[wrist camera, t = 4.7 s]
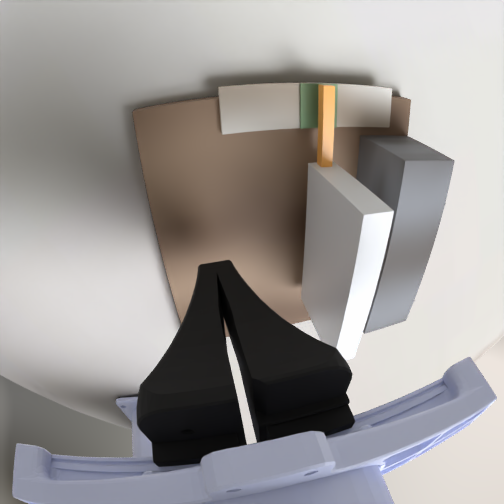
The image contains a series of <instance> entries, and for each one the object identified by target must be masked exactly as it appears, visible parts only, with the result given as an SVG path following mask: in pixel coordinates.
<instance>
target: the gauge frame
mask: <svg viewBox="0 0 504 504" xmlns="http://www.w3.org/2000/svg"><path fill="white" fill-rule="evenodd" d="M318 84H320V85H333V86H335V116H334V142H333V162H335V163H336V164H337V165H339V166H340V167H341V168H343V169H344V170H345V171H346V172H348V173H349V174H350V175H351V176H353V177H354V178H355V179H356V180H358V181H359V182H360V183H361V184H363V185H364V186H365V187H366V188H368V189H369V190H370V191H371V192H372V193H374V194H375V195H376V196H377V197H378V198H380V199H381V200H382V201H383V202H384V203H385V204H387V205H388V206H389V207H390V208H391V209H392V210H393V211H394V214H393V219H392V224H391V229H390V233H389V238H388V242H387V247H386V251H385V255H384V259H383V263H382V267H381V271H380V275H379V279H378V283H377V286H376V290H375V293H374V297H373V300H372V304H371V307H370V311H369V314H368V317H367V321H366V324H365V327H364V330H363V332H364V334H365V333H368V332H372V331H375V330H378V329H381V328H385V327H388V326H391V325H394V324H397V323H400V322H403V321H406V319H407V316H408V314H409V312H410V309H411V307H412V304H413V302H414V299H415V296H416V294H417V291H418V288H419V286H420V283H421V280H422V278H423V275H424V272H425V269H426V266H427V263H428V260H429V257H430V254H431V251H432V248H433V244H434V241H435V238H436V234H437V231H438V228H439V224H440V220H441V217H442V213H443V209H444V205H445V201H446V197H447V193H448V189H449V184H450V180H451V175H452V170H453V165H454V160H452V159H450V158H449V157H447V156H445V155H443V154H441V153H440V152H438V151H436V150H434V149H432V148H430V147H428V146H426V145H424V144H422V143H420V142H419V141H417V140H414V139H412V138H410V137H408V136H407V135H408V126H409V116H410V104H411V100H410V99H407V98H404V97H398V96H392V88H388V87H379V86H368V85H355V84H338V83H262V84H244V85H231V86H220V87H218V96H216V97H208V98H199V99H192V100H185V101H178V102H172V103H166V104H160V105H154V106H149V107H144V108H139V109H135V110H134V111H133V112H132V113H133V120H134V126H135V132H136V138H137V144H138V149H139V155H140V160H141V166H142V171H143V176H144V181H145V186H146V190H147V195H148V200H149V204H150V209H151V213H152V217H153V222H154V226H155V230H156V234H157V238H158V242H159V246H160V250H161V254H162V258H163V262H164V266H165V269H166V273H167V277H168V280H169V284H170V288H171V291H172V295H173V298H174V301H175V305H176V308H177V312H178V315H179V318H180V321H181V324H182V322H183V319H184V317H185V315H186V312H187V309H188V307H189V304H190V301H191V298H192V295H193V291H194V288H195V284H196V279H197V273H198V266H199V265H200V264H206V263H212V262H218V261H224V260H230V261H232V263H233V265H234V266H235V268H236V270H237V271H238V273H239V274H240V275H241V277H242V278H243V279H244V281H245V282H246V283H247V284H248V285H249V287H250V288H251V289H252V290H253V291H254V292H255V293H256V294H257V295H258V297H259V298H260V299H261V300H262V301H263V302H265V303H266V304H267V305H268V306H269V307H270V308H271V309H272V310H273V311H275V312H276V313H277V314H278V315H279V316H281V317H282V318H283V319H285V320H286V321H287V322H289V323H290V324H294V323H299V322H303V321H307V320H311V318H310V316H309V314H308V312H307V310H306V308H305V306H304V304H303V302H302V299H301V289H302V276H303V262H304V246H305V229H306V208H307V184H308V163H314V162H317V146H318ZM224 324H225V335H226V337H229V333H228V330H227V326H226V323H225V320H224Z"/></svg>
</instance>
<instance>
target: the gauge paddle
mask: <svg viewBox="0 0 504 504" xmlns="http://www.w3.org/2000/svg"><path fill="white" fill-rule="evenodd" d="M334 116H335V86H333V85H320V84H318V146H317V162H314V163H308V184H307V208H306V229H305V246H304V262H303V276H302V289H301V299H302V302H303V304H304V306H305V308H306V310H307V312H308V314H309V316H310V318H311V320H312V323H313V325H314V327H315V329H316V331H317V333H318V335H319V337H320V340H321V342H324V343H326V344H328V345H330V346H333V347H335V348H337V349H338V351H339V352H340V353H341V355H342V356H343V358H344V359H345V360H348V359H352V358H354V357H355V354H356V351H357V348H358V345H359V342H360V339H361V336H362V333H363V330H364V327H365V324H366V321H367V317H368V314H369V311H370V307H371V304H372V300H373V297H374V293H375V290H376V286H377V283H378V279H379V275H380V271H381V267H382V263H383V259H384V255H385V251H386V247H387V242H388V238H389V233H390V229H391V224H392V219H393V214H394V211H393V210H392V209H391V208H390V207H389V206H388V205H387V204H385V203H384V202H383V201H382V200H381V199H380V198H378V197H377V196H376V195H375V194H374V193H372V192H371V191H370V190H369V189H368V188H366V187H365V186H364V185H363V184H361V183H360V182H359V181H358V180H356V179H355V178H354V177H353V176H351V175H350V174H349V173H348V172H346V171H345V170H344V169H343V168H341V167H340V166H339V165H337V164H336V163H335V162H333V142H334Z"/></svg>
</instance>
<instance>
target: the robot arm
mask: <svg viewBox="0 0 504 504" xmlns="http://www.w3.org/2000/svg"><path fill="white" fill-rule="evenodd" d="M224 320H225V323H226V326H227V330H228V333H229V336H230V339H231V342H232V345H233V348H234V351H235V354H236V357H237V360H238V364H239V367H240V371H241V376H242V380H243V385H244V389H245V393H246V398H247V402H248V406H249V411H250V415H251V419H252V423H253V428H254V432H255V436H256V440H257V443H253V444H248V445H247V444H246V439H245V434H244V428H243V423H242V418H241V413H240V408H239V403H238V398H237V393H236V389H235V384H234V380H233V376H232V372H231V367H230V363H229V358H228V354H227V345H226V335H225V324H224ZM351 379H352V372H351V370H350V367H349V365H348V364H347V362H346V360H345V359H344V358H343V356H342V355H341V353H340V352H339V351H338V349H337V348H335V347H333V346H330V345H328V344H326V343H324V342H321V341H319V340H317V339H315V338H313V337H311V336H310V335H308V334H306V333H304V332H303V331H301V330H300V329H298V328H297V327H295V326H293V325H292V324H290V323H289V322H287V321H286V320H285V319H283V318H282V317H281V316H279V315H278V314H277V313H276V312H275V311H273V310H272V309H271V308H270V307H269V306H268V305H267V304H266V303H265V302H263V301H262V300H261V299H260V298H259V297H258V295H257V294H256V293H255V292H254V291H253V290H252V289H251V288H250V287H249V285H248V284H247V283H246V282H245V281H244V279H243V278H242V277H241V275H240V274H239V273H238V271H237V270H236V268H235V266H234V265H233V263H232V261H230V260H224V261H218V262H212V263H206V264H200V265H199V266H198V273H197V279H196V284H195V288H194V291H193V295H192V298H191V301H190V304H189V307H188V309H187V312H186V315H185V317H184V319H183V322H182V324H181V326H180V328H179V330H178V332H177V334H176V336H175V338H174V339H173V341H172V343H171V345H170V346H169V348H168V350H167V351H166V353H165V354H164V356H163V357H162V359H161V360H160V361H159V363H158V364H157V366H156V367H155V368H154V370H153V371H152V372H151V373H150V374H149V376H148V377H147V378H146V379H145V380H144V382H143V383H142V384H141V385H140V389H139V394H138V397H126V398H118V399H116V404H117V406H118V407H119V408H120V409H121V410H122V411H123V413H124V414H125V415H126V416H127V417H128V418H129V419H130V421H131V422H132V446H133V457H125V458H124V457H123V458H108V457H105V458H103V457H79V456H65V455H54V454H51V453H50V452H48V451H47V450H46V449H44V448H41V447H38V446H34V445H27V444H20V443H18V444H16V451H15V452H16V453H15V463H14V474H13V493H12V495H13V497H14V498H17V499H19V500H21V501H24V502H26V503H28V504H394V502H393V500H392V497H391V495H390V492H389V490H388V488H387V485H386V483H385V481H384V479H383V476H382V475H383V474H386V473H388V472H390V471H392V470H394V469H396V468H398V467H400V466H402V465H403V464H405V463H407V462H409V461H411V460H413V459H415V458H416V457H418V456H420V455H422V454H423V453H425V452H427V451H429V450H430V449H432V448H434V447H435V446H437V445H439V444H440V443H442V442H444V441H445V440H447V439H448V438H450V437H452V436H453V435H454V434H456V433H458V432H459V431H461V430H462V429H464V428H465V427H467V426H468V425H470V424H471V423H472V422H473V421H474V420H475V419H476V418H477V417H478V416H480V415H481V414H482V413H483V412H484V411H485V410H486V409H487V408H488V407H489V406H490V405H491V404H492V403H493V402H494V401H495V400H496V399H497V397H496V395H495V394H494V392H493V390H492V389H491V387H490V386H489V384H488V383H487V381H486V380H485V378H484V376H483V375H482V373H481V372H480V371H479V369H478V368H477V366H476V365H475V363H474V362H473V360H472V359H471V357H467V358H465V359H463V360H462V361H460V362H458V363H456V364H454V365H453V366H451V367H450V368H449V369H448V370H447V371H446V372H445V373H444V375H443V377H442V378H441V379H439V380H437V381H435V382H433V383H431V384H429V385H427V386H425V387H423V388H421V389H419V390H416V391H414V392H412V393H410V394H408V395H405V396H403V397H401V398H398V399H396V400H394V401H391V402H389V403H386V404H384V405H381V406H379V407H376V408H374V409H371V410H369V411H366V412H363V413H360V414H358V415H355V416H353V414H352V412H351V410H350V408H349V405H348V404H349V398H348V396H347V394H346V391H347V389H348V386H349V384H350V381H351Z"/></svg>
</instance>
